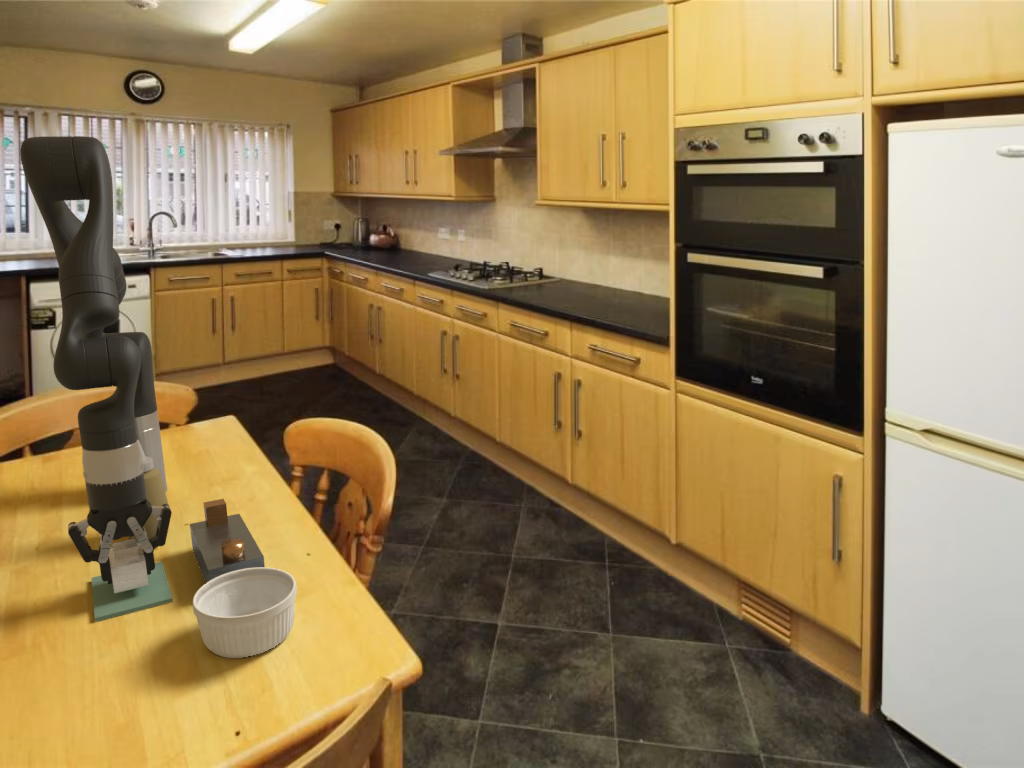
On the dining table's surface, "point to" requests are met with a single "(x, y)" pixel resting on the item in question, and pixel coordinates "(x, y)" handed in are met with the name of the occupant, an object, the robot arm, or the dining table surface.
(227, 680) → the dining table surface
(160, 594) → the mat
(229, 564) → the plane body
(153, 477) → the squeeze bottle
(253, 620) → the ramekin
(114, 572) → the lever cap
